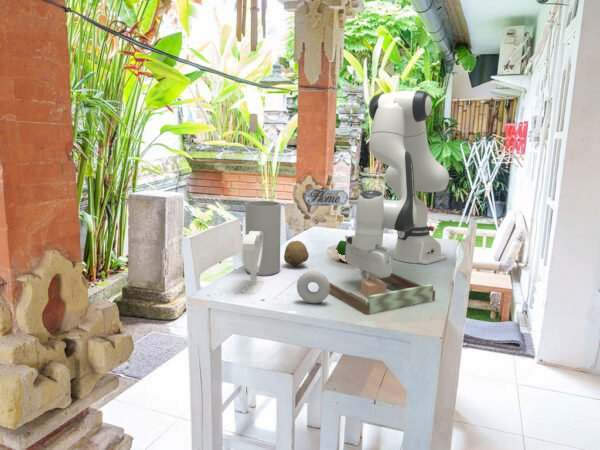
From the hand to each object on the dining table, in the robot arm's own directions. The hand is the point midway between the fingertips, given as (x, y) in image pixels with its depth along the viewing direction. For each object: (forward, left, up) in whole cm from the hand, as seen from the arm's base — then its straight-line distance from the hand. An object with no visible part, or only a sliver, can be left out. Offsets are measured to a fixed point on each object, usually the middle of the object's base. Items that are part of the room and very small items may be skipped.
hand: (366, 283), depth 150 cm
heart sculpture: (+32, -19, -2) cm, 37 cm away
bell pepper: (-14, -31, -2) cm, 34 cm away
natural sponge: (+8, -33, -2) cm, 34 cm away
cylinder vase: (+22, -33, -2) cm, 40 cm away
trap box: (0, +5, -2) cm, 5 cm away
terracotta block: (+1, +5, -2) cm, 5 cm away
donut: (+22, +3, -2) cm, 22 cm away
